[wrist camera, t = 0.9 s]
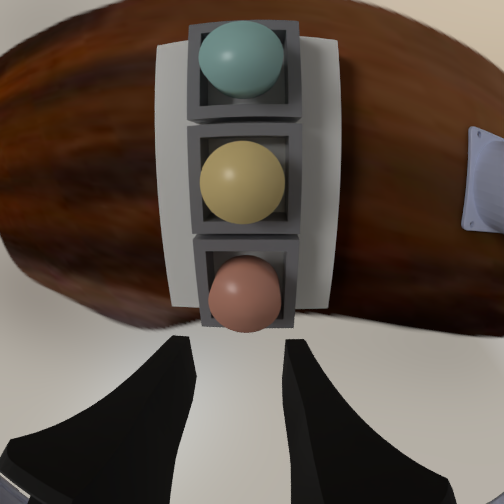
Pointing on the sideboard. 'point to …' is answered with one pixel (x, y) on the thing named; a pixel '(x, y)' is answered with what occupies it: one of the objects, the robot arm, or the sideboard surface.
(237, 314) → the brick button
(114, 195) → the sideboard surface
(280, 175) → the ochre button
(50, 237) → the sideboard surface
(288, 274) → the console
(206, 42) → the teal button
